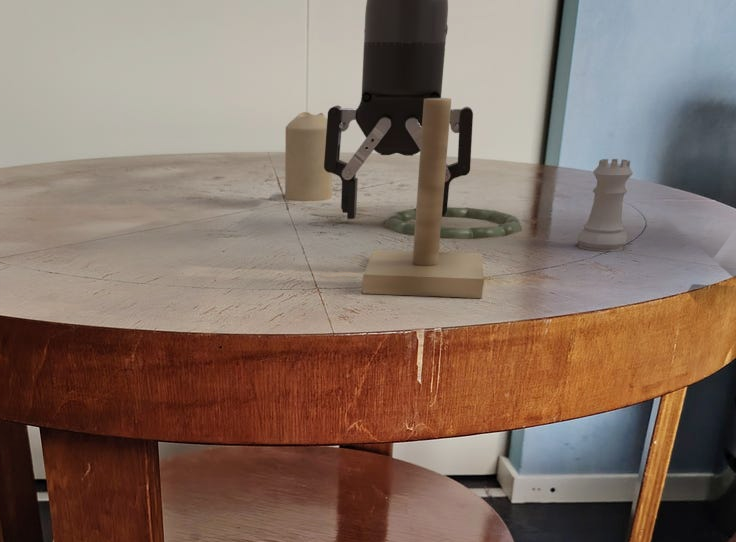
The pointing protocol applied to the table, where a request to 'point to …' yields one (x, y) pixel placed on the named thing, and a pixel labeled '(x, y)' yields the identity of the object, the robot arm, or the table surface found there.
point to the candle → (306, 159)
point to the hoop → (506, 228)
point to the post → (427, 229)
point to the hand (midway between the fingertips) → (393, 219)
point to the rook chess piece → (607, 208)
